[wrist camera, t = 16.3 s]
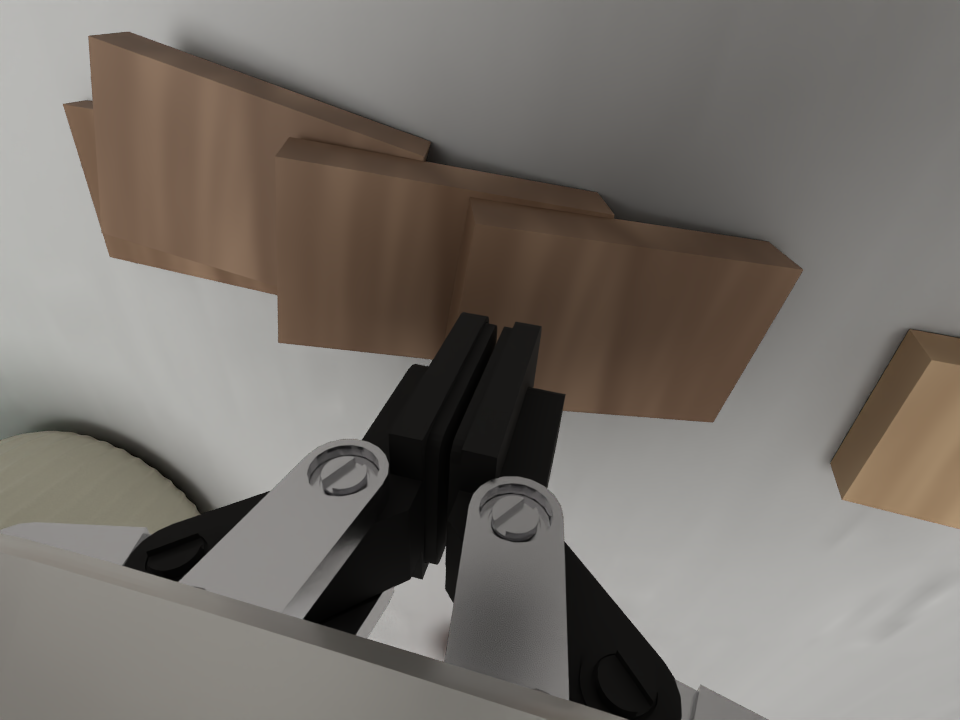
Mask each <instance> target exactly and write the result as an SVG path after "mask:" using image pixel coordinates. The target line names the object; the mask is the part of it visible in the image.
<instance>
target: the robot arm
mask: <svg viewBox="0 0 960 720" xmlns="http://www.w3.org/2000/svg"><path fill="white" fill-rule="evenodd" d="M541 331H542V326H538V325H533V324H527V323H522V322H515V323H514V326H513V328H511V327H504V328H503V330H502V332H501V334H500V337H499V339H498V341H497V343H496V340H497V325H494V324H489V317H488V316H483V315H477V314H472V313H466V312H462V313H461V314H460V316H459V318H458V319H457V321H456V323H455V324H454V326H453V328H452V329H451V331H450V332H449V334H448V336H447V337H446V339H445V341H444V342H443V344H442V346H441V347H440V349H439V351H438V352H437V354H436V355H435V357H434V359H433V360H432V362H431V364H430V365H429V367H428V366H423V365H418V364H414V365H412V366H411V367H410V368H409V369H408V371H407V372H406V374H405V375H404V377H403V378H402V380H401V381H400V383H399V384H398V386H397V388H396V389H395V391H394V392H393V394H392V395H391V397H390V398H389V400H388V401H387V403H386V404H385V406H384V407H383V409H382V410H381V412H380V413H379V415H378V416H377V418H376V419H375V421H374V422H373V424H372V425H371V427H370V428H369V430H368V431H367V433H366V434H365V436H364V438H363V439H362V440H358V439H341V440H336V441H332V442H328V443H326V444H324V445H321V446H319V447H317V448H316V449H314V450H313V451H312V452H310V453H309V454H308V455H307V456H306V457H304V458H303V459H302V460H301V461H300V462H299V463H298V464H297V465H296V466H295V467H294V468H293V469H292V470H291V471H290V472H289V473H288V474H287V475H286V476H285V477H284V478H283V479H282V480H281V481H280V482H279V483H278V484H277V485H276V486H275V487H274V488H273V489H272V490H271V491H268V492H265V493H262V494H259V495H256V496H254V497H251V498H248V499H245V500H242V501H239V502H236V503H233V504H230V505H227V506H224V507H221V508H218V509H215V510H212V511H209V512H206V513H203V514H200V515H197V516H194V517H192V518H189V519H186V520H183V521H180V522H177V523H174V524H171V525H169V526H167V527H165V528H162V529H160V530H158V531H156V532H155V533H153V534H149V531H148V529H147V527H130V526H108V525H87V524H66V523H44V522H31V523H21V524H16V525H13V526H10V527H7V528H4V529H1V530H0V720H768V719H766V718H764V717H762V716H760V715H758V714H756V713H755V712H753V711H751V710H749V709H747V708H745V707H743V706H741V705H739V704H737V703H735V702H733V701H731V700H729V699H728V698H726V697H724V696H722V695H720V694H718V693H716V692H714V691H712V690H710V689H708V688H706V687H704V686H702V685H700V686H699V688H698V690H695V689H693V688H691V687H689V686H687V685H685V684H683V683H681V682H679V681H677V680H676V679H675V678H674V676H673V675H672V673H671V672H670V670H669V669H668V667H667V666H666V664H665V663H664V661H663V660H662V659H661V657H660V656H659V655H658V654H657V653H656V651H655V650H654V649H653V648H652V647H651V645H650V644H649V643H648V642H647V640H646V639H645V638H644V637H643V636H642V634H641V633H640V632H639V631H638V630H637V628H636V627H635V626H634V625H633V624H632V622H631V621H630V620H629V619H628V618H627V616H626V615H625V614H624V613H623V611H622V610H621V609H620V608H619V607H618V605H617V604H616V603H615V602H614V601H613V599H612V598H611V597H610V596H609V595H608V593H607V592H606V591H605V590H604V589H603V587H602V586H601V585H600V584H599V583H598V581H597V580H596V579H595V578H594V576H593V575H592V574H591V573H590V572H589V570H588V569H587V568H586V567H585V566H584V564H583V563H582V562H581V561H580V560H579V558H578V557H577V556H576V555H575V554H574V552H573V551H572V550H571V549H570V547H569V546H568V545H567V544H566V543H565V541H564V518H563V513H562V508H561V505H560V503H559V502H558V500H557V499H556V497H555V495H554V494H553V493H552V492H550V491H549V490H548V489H547V487H548V482H549V478H550V473H551V468H552V463H553V458H554V453H555V448H556V443H557V438H558V433H559V427H560V422H561V417H562V412H563V406H564V401H565V395H566V394H562V393H557V392H552V391H547V390H542V389H537V388H533V387H534V380H535V373H536V366H537V359H538V353H539V346H540V339H541ZM445 546H446V583H445V589H446V591H447V593H448V595H449V596H450V598H451V600H452V602H453V603H454V604H453V611H452V617H451V624H450V630H449V636H448V643H447V649H446V656H445V662H442V661H439V660H435V659H432V658H429V657H425V656H422V655H419V654H416V653H412V652H409V651H406V650H402V649H399V648H396V647H393V646H389V645H386V644H383V643H379V642H376V641H373V640H369V639H367V638H368V637H369V635H370V633H371V632H372V630H373V628H374V627H375V625H376V624H377V622H378V620H379V619H380V617H381V615H382V614H383V612H384V611H385V609H386V607H387V606H388V604H389V602H390V600H391V598H392V595H393V593H394V587H395V586H397V585H399V584H401V583H403V582H406V581H408V580H410V579H411V577H415V578H418V579H423V577H424V574H425V572H426V569H427V567H428V564H429V563H433V564H436V565H437V564H438V563H439V562H440V559H441V557H442V554H443V552H444V549H445Z"/></svg>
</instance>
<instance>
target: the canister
mask: <svg viewBox="0 0 960 720" xmlns="http://www.w3.org/2000/svg"><path fill="white" fill-rule="evenodd" d="M197 515H200V513H199V512H198V511H197V509H196V505H194V504H193V503H192V502H190V501H189V500H188V499H187V498H186V496H185V494H184V493H183V492H182V491H181V490H179V489H178V488H176V487H175V486H174V485H173V483H172V482H171V480H169V479H167V478H165V477H163V476H162V475H161V474H160V473H159V472H158V471H157V470H156V469H155V468H152V467H150V466H148V465H147V464H146V463H145V462H144V461H142V460H141V459H140V458H136V457H134V456H132V455H130V454H129V453H128V452H126V451H125V450H124V449H119V448H116V447H114V446H113V445H111V444H109V443H108V442H106V441H98V440H97V439H95V438H93V437H91V436H87V435H79V434H77V433H73V432H60V431H41V432H32V433H24V434H20V435H15V436H12V437H9V438H6V439H2V440H0V530H1V529H4V528H7V527H10V526H13V525H16V524H21V523H31V522H44V523H66V524H87V525H108V526H130V527H147V529H148V531H149V534H153V533H155V532H156V531H158V530H160V529H162V528H165V527H167V526H169V525H171V524H174V523H177V522H180V521H183V520H186V519H189V518H192V517H194V516H197Z"/></svg>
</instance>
